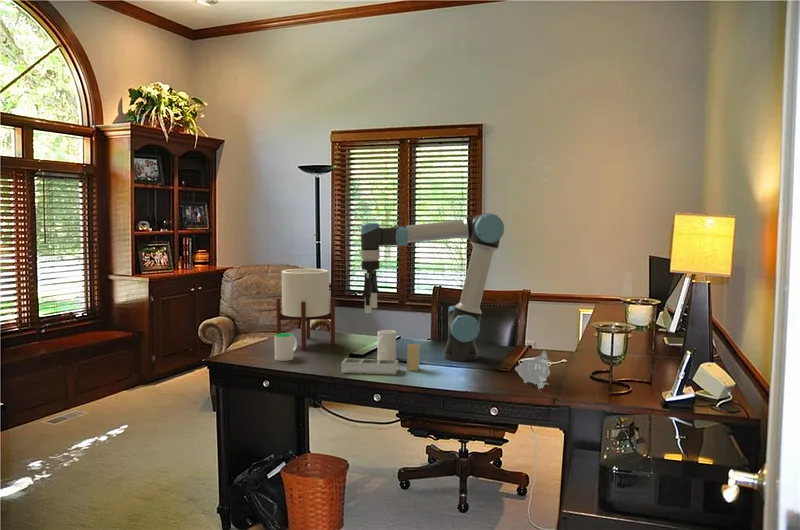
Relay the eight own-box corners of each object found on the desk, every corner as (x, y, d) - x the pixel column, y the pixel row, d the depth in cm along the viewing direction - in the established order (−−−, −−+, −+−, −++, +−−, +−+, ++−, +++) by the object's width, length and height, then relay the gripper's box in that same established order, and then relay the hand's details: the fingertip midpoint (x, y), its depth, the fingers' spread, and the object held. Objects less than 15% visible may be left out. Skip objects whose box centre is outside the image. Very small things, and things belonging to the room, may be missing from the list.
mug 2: (386, 363, 267) (386, 335, 266) (369, 360, 272) (369, 333, 271) (400, 357, 277) (400, 330, 276) (383, 355, 282) (383, 328, 281)
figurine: (508, 386, 233) (537, 386, 223) (513, 347, 238) (541, 345, 228) (526, 393, 239) (555, 393, 228) (531, 355, 244) (559, 353, 233)
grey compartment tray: (398, 369, 257) (398, 359, 256) (395, 374, 249) (395, 364, 249) (345, 367, 259) (345, 358, 259) (341, 372, 251) (341, 362, 251)
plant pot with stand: (338, 343, 305) (338, 270, 302) (303, 351, 288) (302, 274, 285) (308, 337, 320) (308, 267, 317) (272, 344, 303) (271, 270, 300)
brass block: (419, 368, 259) (419, 344, 258) (418, 371, 255) (418, 346, 254) (408, 368, 260) (408, 344, 259) (407, 370, 255) (407, 346, 254)
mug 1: (288, 353, 284) (288, 331, 283) (302, 355, 280) (302, 332, 279) (270, 359, 273) (270, 335, 272) (285, 361, 269) (285, 337, 268)
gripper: (367, 257, 275) (367, 305, 277) (355, 262, 250) (356, 315, 252) (384, 257, 274) (384, 306, 276) (374, 262, 249) (374, 315, 251)
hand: (371, 310), depth 264 cm, fingers open, 13 cm apart
